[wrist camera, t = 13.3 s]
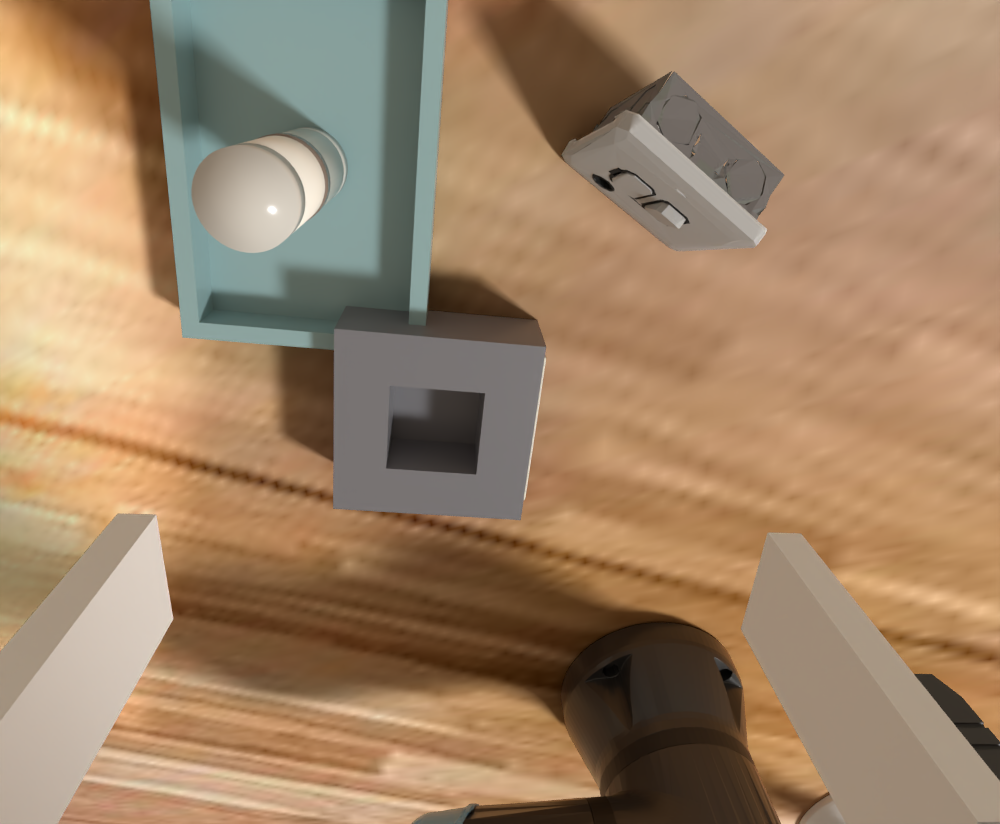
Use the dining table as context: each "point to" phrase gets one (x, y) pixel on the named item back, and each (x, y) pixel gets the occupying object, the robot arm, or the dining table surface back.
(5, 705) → the robot arm
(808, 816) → the candlestick
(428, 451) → the fuse holder
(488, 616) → the dining table surface
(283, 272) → the parts tray
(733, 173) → the electrical switch
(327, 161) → the cylinder
